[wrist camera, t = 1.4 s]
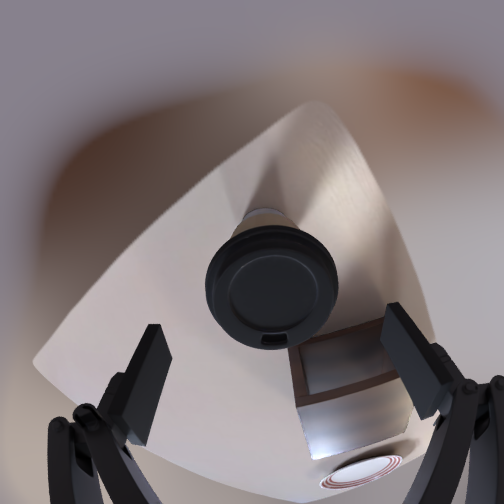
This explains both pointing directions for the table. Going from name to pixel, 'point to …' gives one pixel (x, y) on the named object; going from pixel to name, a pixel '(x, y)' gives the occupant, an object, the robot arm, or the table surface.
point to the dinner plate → (361, 472)
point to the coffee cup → (271, 283)
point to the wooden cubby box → (347, 390)
